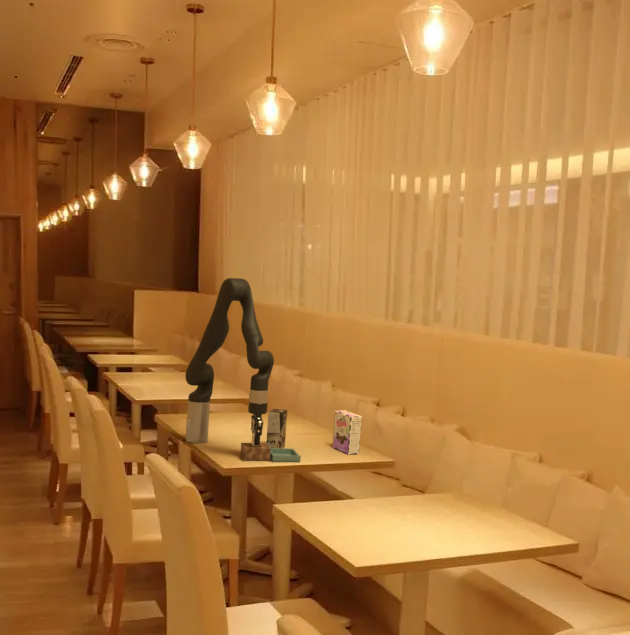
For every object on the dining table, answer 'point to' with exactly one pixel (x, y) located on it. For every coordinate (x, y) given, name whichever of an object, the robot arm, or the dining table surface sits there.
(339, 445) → the candy box
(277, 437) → the coffee box
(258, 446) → the steel pin
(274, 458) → the tray
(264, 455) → the pin block
